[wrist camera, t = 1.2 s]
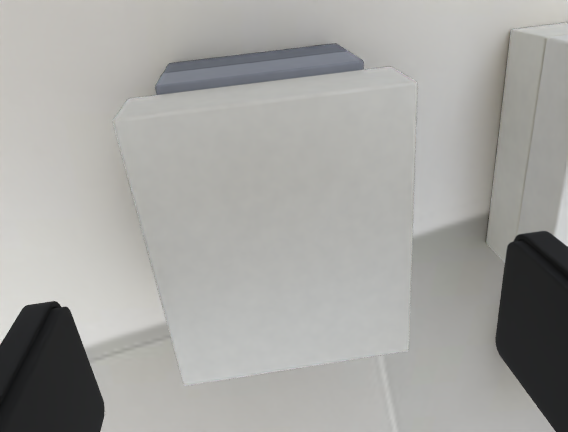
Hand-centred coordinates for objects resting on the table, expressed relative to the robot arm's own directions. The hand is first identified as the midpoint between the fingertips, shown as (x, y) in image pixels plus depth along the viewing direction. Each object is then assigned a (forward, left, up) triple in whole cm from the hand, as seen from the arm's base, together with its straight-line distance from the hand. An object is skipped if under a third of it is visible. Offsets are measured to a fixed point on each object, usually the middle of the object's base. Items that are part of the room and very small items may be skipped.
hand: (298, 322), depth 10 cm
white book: (-1, 0, -4) cm, 4 cm away
